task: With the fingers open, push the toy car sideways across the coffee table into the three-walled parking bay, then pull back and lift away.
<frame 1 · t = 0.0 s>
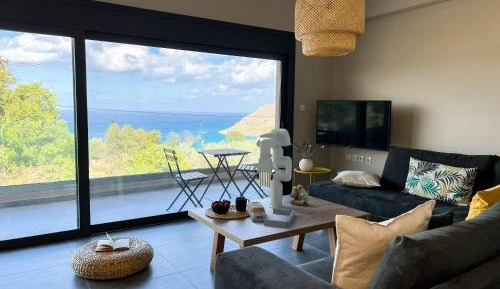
hand: (264, 179, 265), 31 cm above the table, tool pointing down, fingers open, 9 cm apart
parking bay: (280, 219, 274), on the table
owl figurine: (298, 204, 319), on the table
toy car: (256, 218, 278), on the table
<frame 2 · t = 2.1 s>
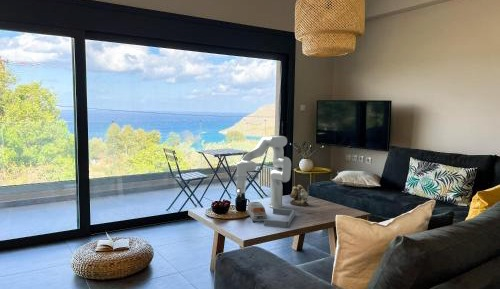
hand: (240, 200, 280), 12 cm above the table, tool pointing down, fingers open, 9 cm apart
nothing on the table moved.
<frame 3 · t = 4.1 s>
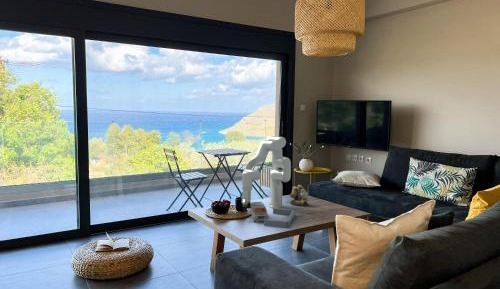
hand: (246, 210, 280), 5 cm above the table, tool pointing down, fingers open, 9 cm apart
toy car: (258, 218, 278), on the table
everything else where it was.
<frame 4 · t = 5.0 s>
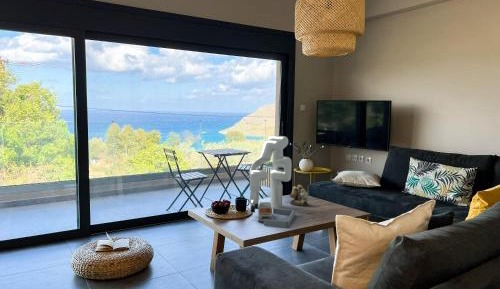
hand: (254, 210, 278), 5 cm above the table, tool pointing down, fingers open, 9 cm apart
toy car: (265, 218, 277), on the table, touching gripper
everything else where it was.
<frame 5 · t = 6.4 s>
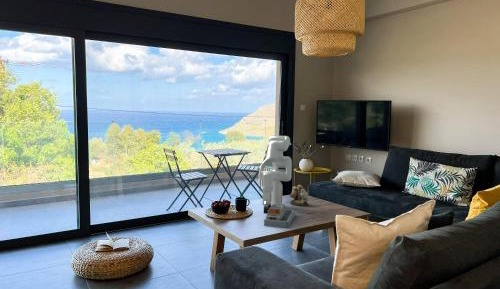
hand: (267, 211, 276), 5 cm above the table, tool pointing down, fingers open, 9 cm apart
toy car: (276, 219, 275), on the table, touching gripper
everything else where it was.
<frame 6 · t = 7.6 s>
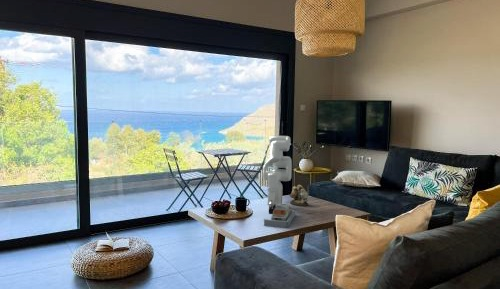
hand: (272, 212, 275), 5 cm above the table, tool pointing down, fingers open, 9 cm apart
toy car: (281, 220, 273), on the table
everything else where it was.
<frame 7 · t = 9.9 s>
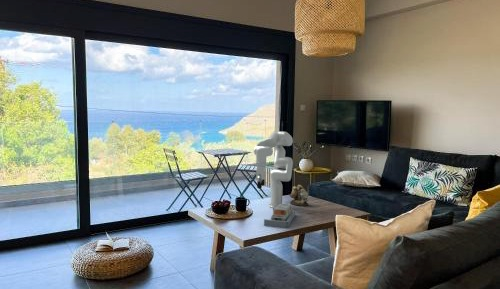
hand: (261, 186, 275), 24 cm above the table, tool pointing down, fingers open, 9 cm apart
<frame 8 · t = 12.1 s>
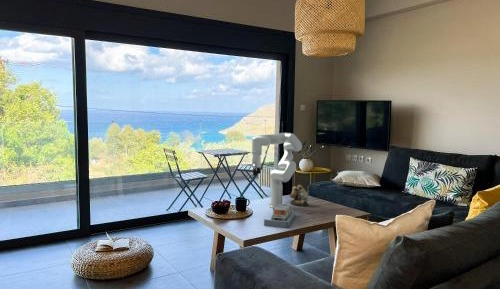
hand: (256, 174, 290), 30 cm above the table, tool pointing down, fingers open, 9 cm apart
nothing on the table moved.
at the end: toy car inside the target area on the parking bay (1.0 cm from its centre), point 0.0 cm above the parking bay's base; toy car tilted 0°; toy car moved 19.2 cm from its start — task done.
